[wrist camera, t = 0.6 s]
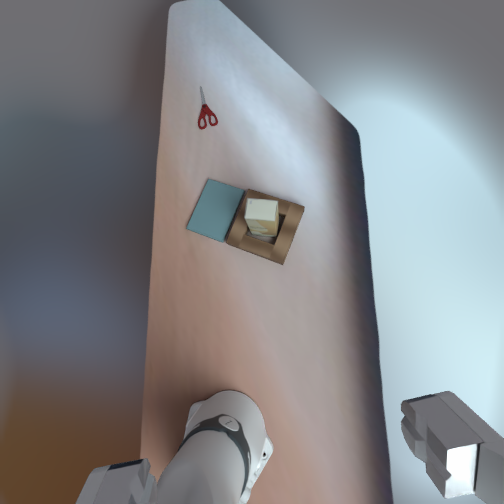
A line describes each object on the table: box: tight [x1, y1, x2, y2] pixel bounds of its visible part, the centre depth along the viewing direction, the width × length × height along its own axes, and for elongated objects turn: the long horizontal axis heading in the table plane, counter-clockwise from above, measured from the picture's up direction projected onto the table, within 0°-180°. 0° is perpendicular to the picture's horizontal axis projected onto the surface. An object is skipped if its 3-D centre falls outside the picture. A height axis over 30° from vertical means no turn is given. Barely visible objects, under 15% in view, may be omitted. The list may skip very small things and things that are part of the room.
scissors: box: [198, 86, 218, 129], centre depth 71 cm, size 5×14×1 cm, turn 12°
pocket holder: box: [226, 189, 305, 265], centre depth 60 cm, size 14×14×2 cm
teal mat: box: [186, 179, 245, 242], centre depth 63 cm, size 14×10×1 cm
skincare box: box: [244, 198, 279, 237], centre depth 55 cm, size 6×4×12 cm
